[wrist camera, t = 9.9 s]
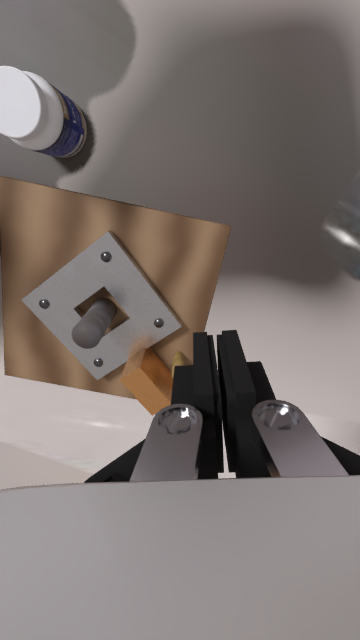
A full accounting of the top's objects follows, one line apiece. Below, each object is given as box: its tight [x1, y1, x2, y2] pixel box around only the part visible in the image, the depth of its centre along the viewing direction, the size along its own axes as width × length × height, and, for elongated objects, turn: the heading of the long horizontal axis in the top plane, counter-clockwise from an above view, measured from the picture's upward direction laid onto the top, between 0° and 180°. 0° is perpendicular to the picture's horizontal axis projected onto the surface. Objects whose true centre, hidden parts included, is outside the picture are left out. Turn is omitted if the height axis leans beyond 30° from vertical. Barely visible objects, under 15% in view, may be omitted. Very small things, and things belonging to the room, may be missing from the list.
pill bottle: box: [0, 66, 87, 158], centre depth 28 cm, size 6×6×10 cm
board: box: [0, 177, 231, 399], centre depth 36 cm, size 26×26×9 cm
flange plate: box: [22, 230, 182, 415], centre depth 37 cm, size 20×14×6 cm
